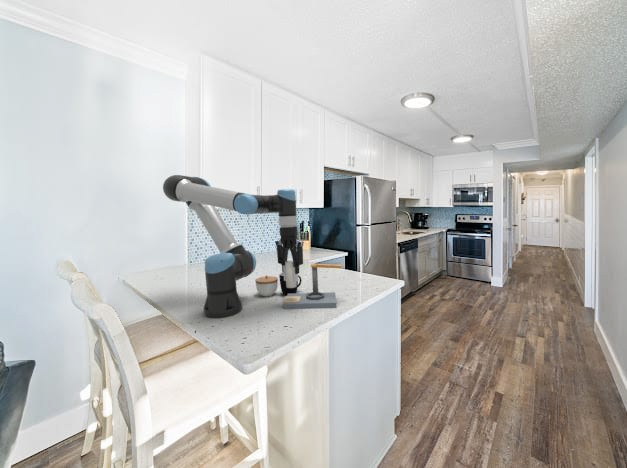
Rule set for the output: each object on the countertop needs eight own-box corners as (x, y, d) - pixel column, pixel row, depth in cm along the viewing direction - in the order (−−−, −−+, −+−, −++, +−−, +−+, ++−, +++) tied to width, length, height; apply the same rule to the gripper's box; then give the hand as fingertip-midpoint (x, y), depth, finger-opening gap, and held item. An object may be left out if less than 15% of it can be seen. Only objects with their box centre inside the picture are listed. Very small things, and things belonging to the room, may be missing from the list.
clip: (310, 267, 124) (309, 264, 124) (312, 266, 127) (312, 263, 127) (340, 268, 119) (340, 266, 119) (342, 267, 122) (342, 264, 122)
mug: (287, 298, 128) (286, 276, 127) (276, 294, 134) (275, 273, 133) (307, 292, 135) (306, 272, 135) (296, 288, 142) (295, 269, 141)
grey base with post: (282, 308, 114) (280, 275, 113) (287, 297, 128) (285, 267, 127) (336, 307, 113) (335, 273, 112) (335, 296, 127) (334, 266, 126)
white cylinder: (285, 288, 116) (284, 262, 115) (287, 285, 120) (285, 260, 119) (296, 287, 116) (294, 262, 115) (297, 285, 120) (295, 260, 119)
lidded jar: (254, 293, 138) (253, 274, 137) (275, 290, 141) (274, 272, 140) (258, 299, 128) (257, 279, 127) (280, 295, 131) (279, 276, 130)
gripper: (310, 225, 114) (312, 280, 116) (278, 225, 124) (281, 276, 126) (299, 226, 108) (302, 285, 110) (266, 227, 117) (270, 280, 119)
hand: (291, 280), depth 118 cm, fingers closed on white cylinder, 4 cm apart
